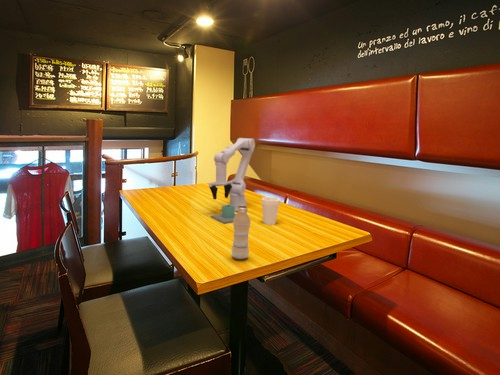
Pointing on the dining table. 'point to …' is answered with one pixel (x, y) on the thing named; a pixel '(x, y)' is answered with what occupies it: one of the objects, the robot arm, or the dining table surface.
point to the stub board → (222, 218)
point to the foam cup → (270, 209)
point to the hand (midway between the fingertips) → (220, 198)
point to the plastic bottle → (241, 233)
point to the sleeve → (228, 211)
